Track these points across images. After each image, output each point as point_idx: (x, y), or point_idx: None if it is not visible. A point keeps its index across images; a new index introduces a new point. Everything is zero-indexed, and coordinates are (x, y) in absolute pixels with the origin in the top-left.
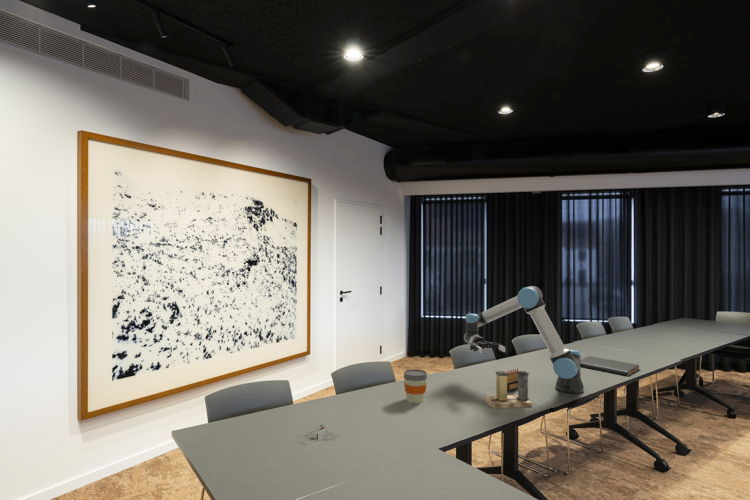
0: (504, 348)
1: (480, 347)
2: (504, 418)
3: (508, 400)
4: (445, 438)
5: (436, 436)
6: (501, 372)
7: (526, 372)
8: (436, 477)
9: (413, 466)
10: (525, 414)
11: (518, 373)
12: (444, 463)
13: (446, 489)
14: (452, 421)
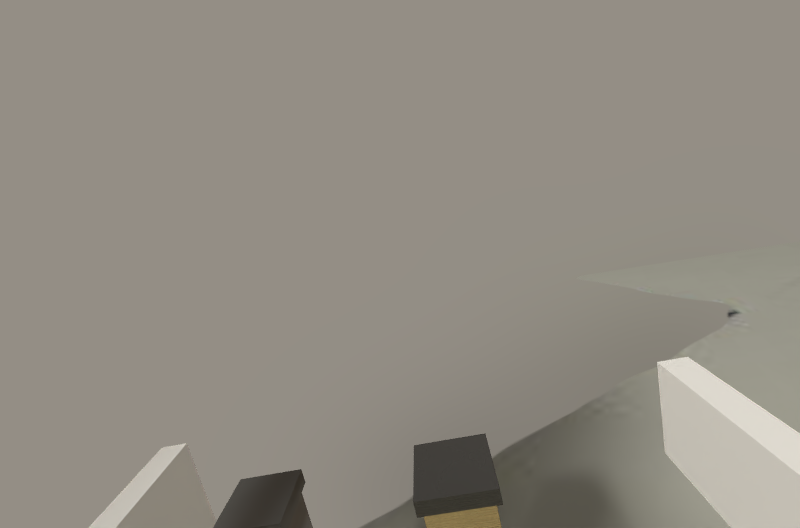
0: (183, 463)
1: (710, 401)
2: (532, 460)
3: None
4: (742, 338)
5: (780, 341)
6: (450, 471)
7: (237, 495)
8: (696, 271)
9: (760, 275)
10: None
11: (290, 516)
12: (696, 289)
13: (668, 265)
14: (780, 419)
